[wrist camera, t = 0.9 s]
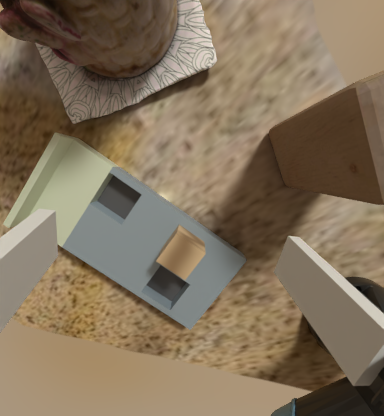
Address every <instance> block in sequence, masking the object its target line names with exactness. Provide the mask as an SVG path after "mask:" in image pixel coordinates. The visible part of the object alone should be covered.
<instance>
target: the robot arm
mask: <svg viewBox="0 0 384 416" xmlns="http://www.w3.org/2000/svg"><path fill="white" fill-rule="evenodd" d="M57 256H58V245H57V226H56V210H47V209H38V210H37V211H35V212H34V213H33V214H31V215H30V216H29V217H27V218H26V219H25V220H23V221H22V222H21V223H19V224H18V225H17V226H15V227H14V228H13V229H11V230H10V231H9V232H7V233H6V234H5V235H3V236H2V237H1V238H0V332H1V331H2V330H3V328H4V327H5V326H6V324H7V323H8V322H9V320H10V319H11V318H12V316H13V315H14V314H15V312H16V311H17V310H18V308H19V307H20V306H21V304H22V303H23V302H24V300H25V299H26V298H27V296H28V295H29V294H30V292H31V291H32V290H33V288H34V287H35V286H36V284H37V283H38V282H39V280H40V279H41V278H42V276H43V275H44V274H45V272H46V271H47V270H48V268H49V267H50V266H51V264H52V263H53V262H54V260H55V259H56V258H57ZM274 273H275V274H276V276H277V277H278V279H279V280H280V282H281V283H282V284H283V286H284V287H285V289H286V290H287V292H288V293H289V294H290V296H291V297H292V299H293V300H294V302H295V303H296V305H297V306H298V307H299V309H300V310H301V312H302V313H303V315H304V316H305V317H306V319H307V320H308V326H309V329H310V331H311V333H312V335H313V336H314V338H315V339H316V340H317V342H318V343H319V345H320V346H321V347H322V348H323V349H324V350H325V351H326V352H328V353H329V354H330V355H332V356H333V358H334V359H335V360H336V362H337V363H338V365H339V366H340V368H341V369H342V370H343V372H344V373H345V375H346V376H347V377H345V378H342V379H340V380H338V381H336V382H334V383H331V384H329V385H327V386H325V387H323V388H320V389H318V390H316V391H314V392H311V393H309V394H307V395H305V396H303V397H300V398H298V399H297V398H294V399H292V401H291V402H290V403H288V404H286V405H284V406H283V407H281V408H279V409H277V410H275V411H274V412H273V413H272V414H271V416H384V288H383V287H381V286H380V285H378V284H377V283H375V282H373V281H371V280H369V279H366V278H361V277H347V278H344V277H343V276H342V275H340V274H339V273H338V272H337V271H336V270H335V269H334V268H333V267H332V266H331V265H329V264H328V263H327V262H326V261H325V260H324V259H323V258H322V257H321V256H320V255H318V254H317V253H316V252H315V251H314V250H313V249H312V248H311V247H310V246H308V245H307V244H306V243H305V242H304V241H303V240H302V239H301V238H300V237H294V236H288V237H287V240H286V242H285V245H284V248H283V250H282V253H281V255H280V258H279V260H278V263H277V265H276V268H275V270H274Z"/></svg>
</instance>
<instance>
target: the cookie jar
mask: <svg viewBox="0 0 384 416" xmlns="http://www.w3.org/2000/svg"><path fill="white" fill-rule="evenodd" d="M0 3H1V5H2V6H3V8H4V9H3V10H2V11H1V12H0V28H1V29H2V30H3V31H5V32H6V33H7V34H8V35H10V36H12V37H14V38H16V39H20V40H23V41H30V42H34V43H35V44H36V47H37V49H38V50H39V53H40V56H41V58H42V59H43V61H44V63H45V64H46V66H47V68H48V70H49V74H50V76H51V79H52V81H53V83H54V85H55V87H56V88H57V90H58V91H59V94H60V96H61V98H62V102H63V104H64V108H65V111H66V113H67V115H68V116H69V117H70V120H71V122H72V123H73V124H75V123H78V122H80V121H84V120H87V119H90V118H96V117H100V116H104V115H108V114H111V113H113V112H114V111H117V110H122V109H123V108H124V107H125V106H130V105H133V104H136V103H139V102H140V101H141V100H142V99H145V98H146V97H147V96H149V95H151V94H153V93H155V92H157V91H160V90H161V89H163V88H165V87H168V86H170V85H172V84H174V83H176V82H179V81H181V80H183V79H185V78H187V77H190V76H192V75H194V74H197V73H199V72H201V71H203V70H206V69H209V68H211V67H213V66H214V64H215V63H216V61H217V58H216V52H215V49H214V47H213V44H212V37H211V35H210V30H209V28H208V27H207V26H206V24H205V21H204V12H203V10H202V6H201V3H200V1H199V0H0Z"/></svg>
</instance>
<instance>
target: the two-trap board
mask: <svg viewBox="0 0 384 416" xmlns="http://www.w3.org/2000/svg"><path fill="white" fill-rule="evenodd" d="M38 209H47V210H56V226H57V244H58V245H59V246H61V247H63V248H64V249H66V250H67V251H69V252H70V253H72V254H73V255H75V256H76V257H78V258H80V259H81V260H83V261H84V262H86V263H87V264H89V265H90V266H92V267H94V268H95V269H97V270H98V271H100V272H101V273H103V274H104V275H106V276H107V277H109V278H111V279H112V280H114V281H115V282H117V283H118V284H120V285H121V286H123V287H125V288H126V289H128V290H129V291H131V292H132V293H134V294H135V295H137V296H138V297H140V298H142V299H143V300H145V301H146V302H148V303H149V304H151V305H152V306H154V307H156V308H157V309H159V310H160V311H162V312H163V313H165V314H166V315H168V316H169V317H171V318H173V319H174V320H176V321H177V322H179V323H180V324H182V325H183V326H185V327H187V328H188V329H190V330H191V328H192V327H193V326H194V325H195V324H196V322H197V321H198V320H199V319H200V317H201V316H202V315H203V314H204V312H205V311H206V310H207V309H208V308H209V306H210V305H211V304H212V303H213V301H214V300H215V299H216V298H217V296H218V295H219V294H220V293H221V292H222V290H223V289H224V288H225V287H226V285H227V284H228V283H229V282H230V281H231V279H232V278H233V277H234V276H235V274H236V273H237V272H238V271H239V269H240V268H241V267H242V266H243V265H244V263H245V262H246V261H247V260H246V258H245V256H244V254H243V253H242V252H240V251H239V250H237V249H236V248H234V247H233V246H232V245H230V244H229V243H227V242H226V241H224V240H223V239H222V238H220V237H219V236H217V235H216V234H214V233H213V232H212V231H210V230H209V229H207V228H206V227H205V226H203V225H202V224H200V223H199V222H197V221H196V220H195V219H193V218H192V217H190V216H189V215H187V214H186V213H185V212H183V211H182V210H180V209H179V208H177V207H176V206H175V205H173V204H172V203H170V202H169V201H167V200H166V199H165V198H163V197H162V196H160V195H159V194H157V193H156V192H155V191H153V190H152V189H150V188H149V187H147V186H146V185H145V184H143V183H142V182H140V181H139V180H137V179H136V178H135V177H133V176H132V175H130V174H129V173H127V172H126V171H125V170H123V169H122V168H120V167H119V166H117V165H116V164H115V163H113V162H112V161H110V160H109V159H107V158H106V157H105V156H103V155H102V154H100V153H99V152H97V151H96V150H95V149H93V148H92V147H90V146H89V145H87V144H86V143H85V142H83V141H82V140H80V139H79V138H76V137H72V136H68V135H64V134H60V133H56V132H55V133H54V135H53V137H52V139H51V140H50V142H49V144H48V146H47V147H46V149H45V151H44V153H43V155H42V156H41V158H40V160H39V162H38V163H37V165H36V167H35V169H34V170H33V172H32V174H31V176H30V177H29V179H28V181H27V183H26V185H25V186H24V188H23V190H22V192H21V193H20V195H19V197H18V199H17V200H16V202H15V204H14V206H13V208H12V209H11V211H10V213H9V215H8V216H7V218H6V220H5V222H4V223H3V224H4V225H5V226H7V227H8V228H11V227H14V226H17V225H18V224H19V223H21V222H22V221H23V220H25V219H26V218H27V217H29V216H30V215H31V214H33V213H34V212H35V211H37V210H38ZM178 225H181V226H182V227H184V228H185V229H187V230H188V231H189V232H191V233H192V234H194V235H195V236H197V237H198V238H200V239H201V240H202V241H204V243H205V252H206V254H205V255H204V257H203V258H202V259H201V260H200V262H199V263H198V264H197V266H196V267H195V268H194V270H193V271H192V272H191V273H190V275H189V276H188V277H187V279H186V280H184V279H182V278H181V277H179V276H178V275H176V274H175V273H173V272H172V271H170V270H169V269H167V268H166V267H164V266H163V265H161V264H160V263H158V262H157V261H156V260H157V258H158V256H159V254H160V251H161V249H162V247H163V246H164V245H165V243H166V242H167V240H168V239H169V238H170V236H171V235H172V234H173V232H174V231H175V229H176V228H177V227H178Z"/></svg>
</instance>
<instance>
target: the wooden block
mask: <svg viewBox="0 0 384 416" xmlns="http://www.w3.org/2000/svg"><path fill="white" fill-rule="evenodd" d="M269 137H270V140H271V143H272V146H273V149H274V152H275V156H276V159H277V162H278V165H279V168H280V171H281V175H282V178H283V181H284V184H285V185H286V186H287V187H292V188H297V189H302V190H307V191H312V192H317V193H322V194H327V195H332V196H337V197H342V198H347V199H352V200H357V201H362V202H367V203H372V204H378V205H384V71H381V72H379V73H377V74H374V75H372V76H369V77H367V78H364V79H362V80H359V81H357V82H355V83H353V84H351V85H349V86H347V87H346V88H344V89H342V90H340V91H338V92H336V93H335V94H333V95H331V96H329V97H327V98H325V99H323V100H322V101H320V102H318V103H316V104H314V105H312V106H311V107H309V108H307V109H305V110H303V111H301V112H300V113H298V114H296V115H294V116H292V117H290V118H289V119H287V120H285V121H283V122H281V123H279V124H277V125H276V126H274V127H273V128H271V129H270V131H269Z"/></svg>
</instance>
